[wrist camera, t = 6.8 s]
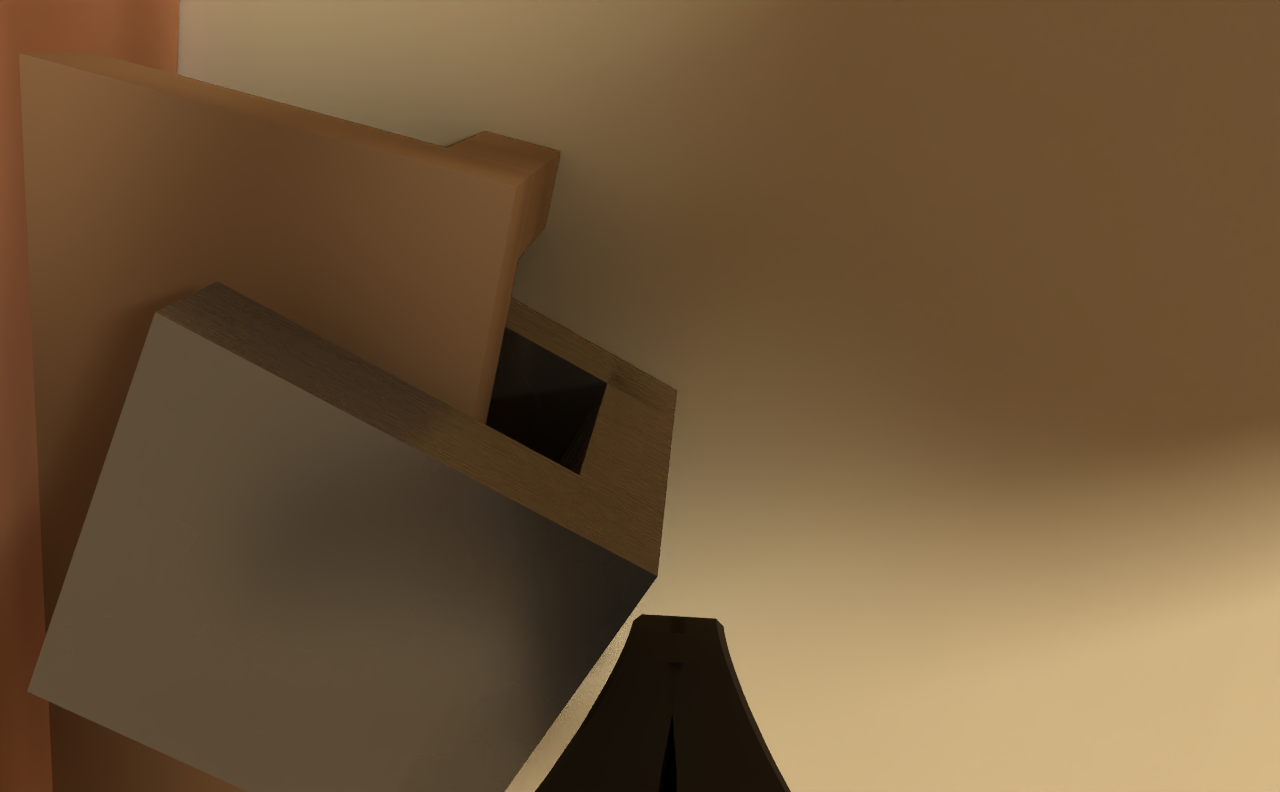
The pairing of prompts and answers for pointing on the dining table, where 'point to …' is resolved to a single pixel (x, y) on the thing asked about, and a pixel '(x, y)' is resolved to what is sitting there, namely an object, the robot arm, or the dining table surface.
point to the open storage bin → (355, 554)
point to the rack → (187, 262)
